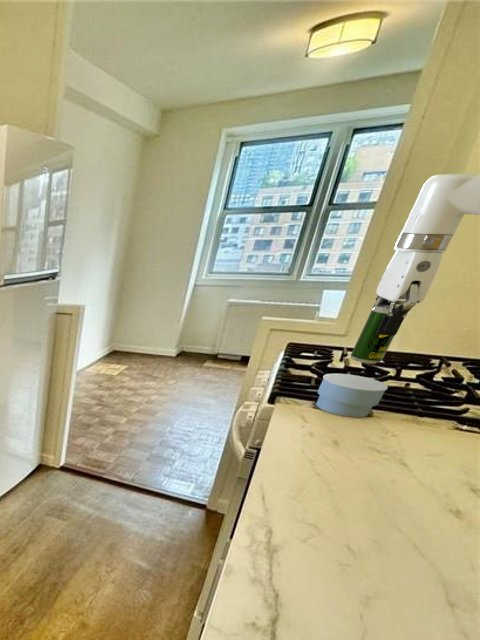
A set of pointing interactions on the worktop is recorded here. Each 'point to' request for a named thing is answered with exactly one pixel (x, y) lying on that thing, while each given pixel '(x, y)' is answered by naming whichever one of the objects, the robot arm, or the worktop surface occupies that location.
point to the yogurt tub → (349, 394)
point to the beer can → (372, 338)
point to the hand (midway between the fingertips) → (379, 330)
